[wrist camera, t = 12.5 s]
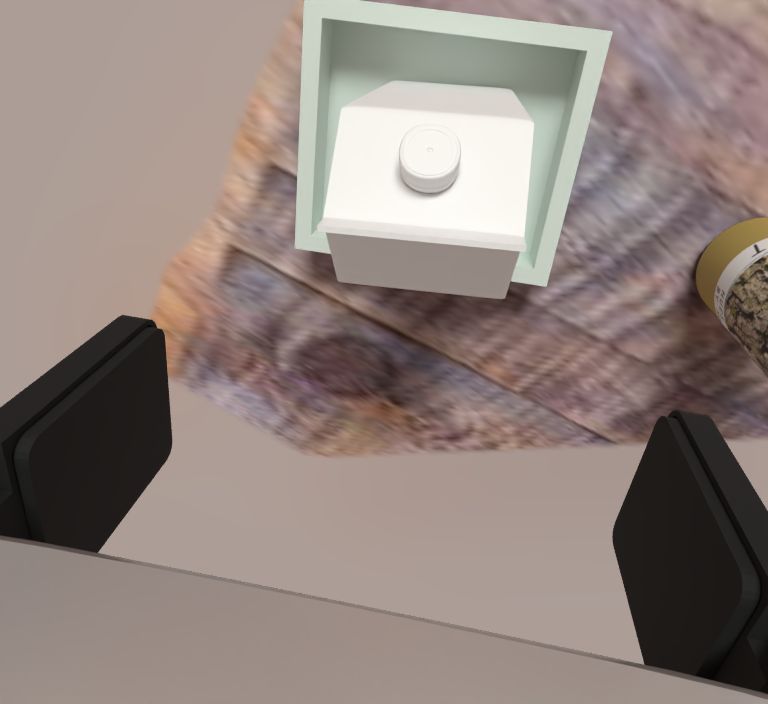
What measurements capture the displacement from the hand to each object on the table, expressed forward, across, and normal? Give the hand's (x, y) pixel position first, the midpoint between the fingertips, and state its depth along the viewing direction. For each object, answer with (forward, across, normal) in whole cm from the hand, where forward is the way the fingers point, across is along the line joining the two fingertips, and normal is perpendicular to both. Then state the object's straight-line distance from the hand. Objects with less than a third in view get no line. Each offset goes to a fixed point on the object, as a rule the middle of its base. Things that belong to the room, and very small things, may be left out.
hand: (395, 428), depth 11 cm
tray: (+30, +1, -1) cm, 30 cm away
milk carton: (+29, +1, -1) cm, 29 cm away
